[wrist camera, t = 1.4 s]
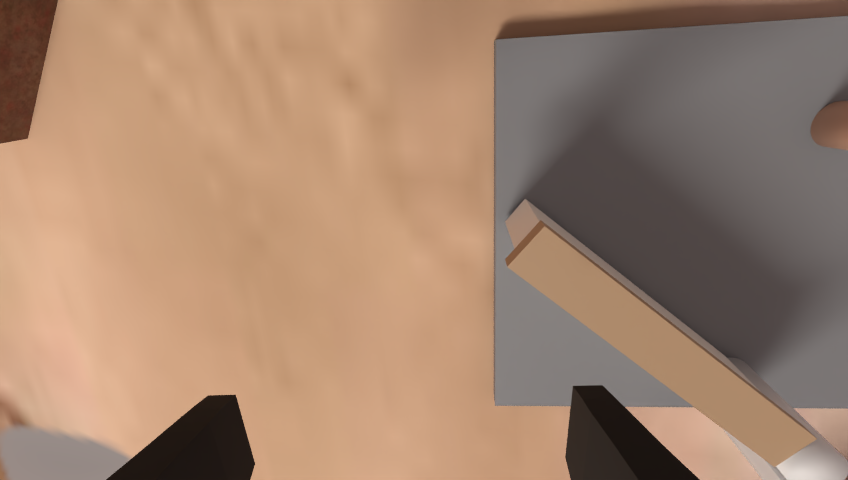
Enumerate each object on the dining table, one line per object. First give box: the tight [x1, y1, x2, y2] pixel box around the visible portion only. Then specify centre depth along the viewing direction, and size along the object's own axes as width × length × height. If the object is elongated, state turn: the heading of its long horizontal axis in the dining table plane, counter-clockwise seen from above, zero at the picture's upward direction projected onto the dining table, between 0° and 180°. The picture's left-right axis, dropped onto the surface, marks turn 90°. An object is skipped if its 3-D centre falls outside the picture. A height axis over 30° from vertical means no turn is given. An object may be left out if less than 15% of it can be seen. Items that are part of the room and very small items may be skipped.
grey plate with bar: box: [494, 16, 848, 480], centre depth 14 cm, size 16×22×7 cm
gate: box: [505, 199, 848, 480], centre depth 15 cm, size 13×2×5 cm, turn 53°
